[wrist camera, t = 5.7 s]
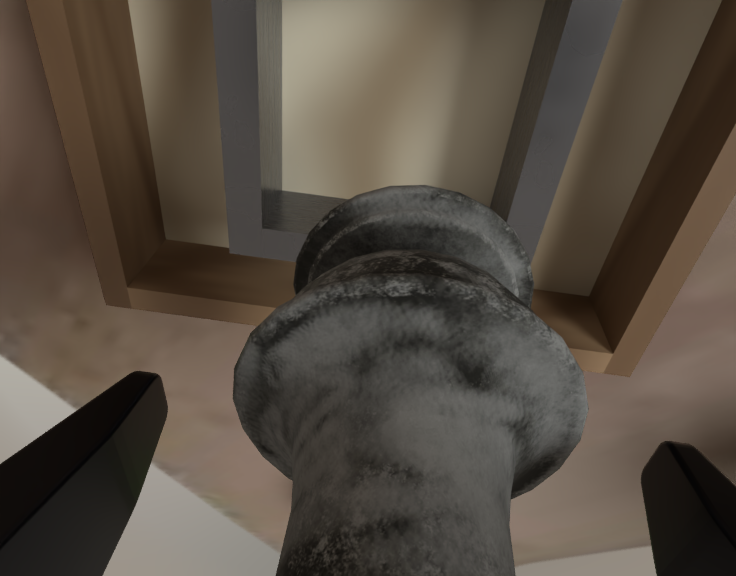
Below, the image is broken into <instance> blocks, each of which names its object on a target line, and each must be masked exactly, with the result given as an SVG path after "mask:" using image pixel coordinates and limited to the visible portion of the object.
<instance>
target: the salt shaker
mask: <svg viewBox="0 0 736 576" xmlns="http://www.w3.org/2000/svg"><path fill="white" fill-rule="evenodd" d="M293 286H294V291H295V297H294V298H293V299H291V300H289V301H287V302H285V303H283V304H282V305H280V306H278V307H277V308H276V309H275V310H274V311H273V312H272V313H271V314H270V315H269V316H268V317H267V318H266V319H265V320H264V321H263V322H262V323H261V324H260V325H259V326H258V327H257V328H255V329H254V330H253V331H252V332H251V333H250V335H249V338H248V340H247V342H246V344H245V346H244V348H243V350H242V352H241V355H240V357H239V359H238V361H237V363H236V365H235V368H234V386H233V401H234V404H235V407H236V410H237V413H238V416H239V419H240V422H241V425H242V428H243V429H244V431H245V432H246V434H247V435H248V437H249V438H250V439H251V441H252V442H253V444H254V445H255V446H256V448H257V449H258V451H259V452H260V453H261V455H262V456H263V457H264V458H265V459H266V460H268V461H269V462H270V463H271V464H272V465H273V466H275V467H276V468H277V469H278V470H279V471H280V472H282V473H283V474H284V475H285V476H286V477H288V478H289V479H291V480H293V489H292V505H291V513H290V517H289V521H288V526H287V530H286V534H285V538H284V543H283V547H282V551H281V555H280V560H279V564H278V568H277V573H276V576H515V568H514V560H513V552H512V544H511V536H510V528H509V521H510V502H511V499H513V498H515V497H517V496H520V495H522V494H524V493H526V492H528V491H530V490H532V489H534V488H535V487H536V486H538V485H539V484H540V483H542V482H543V481H544V480H545V479H547V478H548V477H549V476H551V475H552V474H553V473H555V472H556V471H557V470H558V469H559V468H560V467H561V466H562V465H563V463H564V462H565V460H566V459H567V458H568V456H569V455H570V454H571V452H572V451H573V449H574V448H575V447H576V445H577V444H578V442H579V441H580V439H581V435H582V432H583V428H584V424H585V420H586V417H587V413H588V402H587V395H586V389H585V382H584V375H583V372H582V370H581V368H580V367H579V365H578V363H577V362H576V360H575V358H574V356H573V355H572V353H571V351H570V350H569V348H568V346H567V345H566V343H565V341H564V340H563V338H562V337H561V336H560V335H559V334H558V333H556V332H555V331H554V330H553V329H552V328H551V327H550V326H548V325H547V324H546V323H545V322H544V321H543V320H541V319H540V318H539V317H538V316H537V315H536V314H535V313H534V312H533V310H531V303H532V296H533V290H534V280H533V275H532V270H531V265H530V260H529V256H528V253H527V252H526V250H525V248H524V246H523V245H522V243H521V241H520V239H519V238H518V236H517V234H516V232H515V231H514V229H513V228H512V227H511V226H509V225H508V224H507V223H506V222H505V221H504V220H503V219H502V218H501V217H500V216H499V215H498V214H496V213H495V212H494V211H493V210H492V209H491V208H489V207H488V206H486V205H484V204H482V203H480V202H478V201H476V200H474V199H472V198H470V197H468V196H466V195H464V194H462V193H460V192H455V191H451V190H446V189H442V188H437V187H433V186H428V185H400V186H387V187H384V188H380V189H376V190H373V191H369V192H365V193H362V194H358V195H356V196H354V197H352V198H351V199H349V200H347V201H346V202H344V203H342V204H340V205H339V206H337V207H335V208H334V209H332V210H330V211H329V212H328V213H327V214H326V215H325V216H324V217H323V218H322V219H321V220H320V221H319V222H318V223H317V224H316V226H315V227H314V228H313V229H312V230H311V231H310V232H309V234H308V236H307V238H306V240H305V242H304V244H303V246H302V248H301V250H300V252H299V254H298V256H297V259H296V267H295V274H294V282H293Z"/></svg>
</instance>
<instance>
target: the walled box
mask: <svg viewBox="0 0 736 576" xmlns="http://www.w3.org/2000/svg"><path fill="white" fill-rule="evenodd" d="M545 1H546V0H282V190H284V191H291V192H299V193H306V194H314V195H321V196H329V197H336V198H344V199H351V198H352V197H354V196H356V195H358V194H362V193H365V192H369V191H373V190H376V189H380V188H384V187H387V186H400V185H428V186H433V187H437V188H442V189H446V190H451V191H455V192H460V193H462V194H464V195H466V196H468V197H470V198H472V199H474V200H476V201H478V202H480V203H482V204H484V205H486V206H488V207H489V208H490V205H491V201H492V198H493V194H494V190H495V186H496V183H497V179H498V175H499V172H500V168H501V164H502V160H503V157H504V153H505V149H506V146H507V142H508V138H509V134H510V131H511V127H512V123H513V120H514V116H515V112H516V108H517V105H518V101H519V97H520V94H521V90H522V86H523V82H524V79H525V75H526V71H527V68H528V64H529V60H530V56H531V53H532V49H533V45H534V42H535V38H536V34H537V30H538V27H539V23H540V19H541V16H542V12H543V8H544V4H545ZM26 3H27V7H28V11H29V14H30V18H31V22H32V26H33V30H34V33H35V37H36V41H37V45H38V49H39V52H40V56H41V60H42V64H43V68H44V71H45V75H46V79H47V83H48V87H49V90H50V94H51V98H52V102H53V106H54V109H55V113H56V117H57V121H58V125H59V128H60V132H61V136H62V140H63V144H64V147H65V151H66V155H67V159H68V163H69V166H70V170H71V174H72V178H73V182H74V185H75V189H76V193H77V197H78V201H79V204H80V208H81V212H82V216H83V220H84V223H85V227H86V231H87V235H88V239H89V242H90V246H91V250H92V254H93V258H94V261H95V265H96V269H97V273H98V277H99V280H100V284H101V288H102V292H103V296H104V299H105V303H106V305H110V306H117V307H124V308H131V309H139V310H146V311H153V312H161V313H168V314H175V315H182V316H190V317H197V318H204V319H211V320H219V321H226V322H233V323H241V324H248V325H255V326H259V325H260V324H261V323H262V322H263V321H264V320H265V319H266V318H267V317H268V316H269V315H270V314H271V313H272V312H273V311H274V310H275V309H276V308H277V307H278V306H280V305H282V304H283V303H285V302H287V301H289V300H291V299H293V298H294V297H295V291H294V286H293V282H294V274H295V267H296V262H290V261H283V260H276V259H268V258H261V257H253V256H246V255H239V254H231V253H230V251H229V238H228V224H227V210H226V197H225V183H224V170H223V156H222V142H221V129H220V115H219V102H218V88H217V74H216V61H215V47H214V33H213V20H212V6H211V0H26ZM735 194H736V0H623V1H622V4H621V7H620V10H619V13H618V15H617V18H616V21H615V24H614V27H613V30H612V33H611V36H610V38H609V41H608V44H607V47H606V50H605V53H604V56H603V59H602V61H601V64H600V67H599V70H598V73H597V76H596V79H595V82H594V84H593V87H592V90H591V93H590V96H589V99H588V102H587V104H586V107H585V110H584V113H583V116H582V119H581V122H580V125H579V127H578V130H577V133H576V136H575V139H574V142H573V145H572V148H571V150H570V153H569V156H568V159H567V162H566V165H565V168H564V171H563V173H562V176H561V179H560V182H559V185H558V188H557V191H556V194H555V196H554V199H553V202H552V205H551V208H550V211H549V214H548V216H547V219H546V222H545V225H544V228H543V231H542V234H541V237H540V239H539V242H538V245H537V248H536V251H535V254H534V257H533V260H532V262H531V270H532V275H533V280H534V290H533V296H532V303H531V310H533V312H534V313H535V314H536V315H537V316H538V317H539V318H540V319H541V320H543V321H544V322H545V323H546V324H547V325H548V326H550V327H551V328H552V329H553V330H554V331H555V332H556V333H558V334H559V335H560V336H561V337H562V338H563V340H564V341H565V343H566V345H567V346H568V348H569V350H570V351H571V353H572V355H573V356H574V358H575V360H576V362H577V363H578V365H579V367H580V368H581V370H582V371H590V372H597V373H604V374H612V375H619V376H626V377H630V376H631V374H632V372H633V370H634V369H635V367H636V365H637V363H638V362H639V360H640V358H641V356H642V355H643V353H644V351H645V350H646V348H647V346H648V344H649V343H650V341H651V339H652V337H653V336H654V334H655V332H656V331H657V329H658V327H659V325H660V324H661V322H662V320H663V318H664V317H665V315H666V313H667V312H668V310H669V308H670V306H671V305H672V303H673V301H674V299H675V298H676V296H677V294H678V293H679V291H680V289H681V287H682V286H683V284H684V282H685V280H686V279H687V277H688V275H689V274H690V272H691V270H692V268H693V267H694V265H695V263H696V261H697V260H698V258H699V256H700V255H701V253H702V251H703V249H704V248H705V246H706V244H707V242H708V241H709V239H710V237H711V235H712V234H713V232H714V230H715V229H716V227H717V225H718V223H719V222H720V220H721V218H722V216H723V215H724V213H725V211H726V210H727V208H728V206H729V204H730V203H731V201H732V199H733V197H734V196H735Z"/></svg>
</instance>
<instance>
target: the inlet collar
mask: <svg viewBox="0 0 736 576" xmlns="http://www.w3.org/2000/svg"><path fill="white" fill-rule="evenodd" d="M622 1H623V0H546V1H545V4H544V8H543V12H542V16H541V19H540V23H539V27H538V30H537V34H536V38H535V42H534V45H533V49H532V53H531V56H530V60H529V64H528V68H527V71H526V75H525V79H524V82H523V86H522V90H521V94H520V97H519V101H518V105H517V108H516V112H515V116H514V120H513V123H512V127H511V131H510V134H509V138H508V142H507V146H506V149H505V153H504V157H503V160H502V164H501V168H500V172H499V175H498V179H497V183H496V186H495V190H494V194H493V198H492V201H491V205H490V208H491V209H492V210H493V211H494V212H495V213H496V214H498V215H499V216H500V217H501V218H502V219H503V220H504V221H505V222H506V223H507V224H508V225H509V226H511V227H512V228H513V229H514V231H515V232H516V234H517V236H518V238H519V239H520V241H521V243H522V245H523V246H524V248H525V250H526V252H527V253H528V256H529V260H530V265H531V262H532V260H533V257H534V254H535V251H536V248H537V245H538V242H539V239H540V237H541V234H542V231H543V228H544V225H545V222H546V219H547V216H548V214H549V211H550V208H551V205H552V202H553V199H554V196H555V194H556V191H557V188H558V185H559V182H560V179H561V176H562V173H563V171H564V168H565V165H566V162H567V159H568V156H569V153H570V150H571V148H572V145H573V142H574V139H575V136H576V133H577V130H578V127H579V125H580V122H581V119H582V116H583V113H584V110H585V107H586V104H587V102H588V99H589V96H590V93H591V90H592V87H593V84H594V82H595V79H596V76H597V73H598V70H599V67H600V64H601V61H602V59H603V56H604V53H605V50H606V47H607V44H608V41H609V38H610V36H611V33H612V30H613V27H614V24H615V21H616V18H617V15H618V13H619V10H620V7H621V4H622ZM211 6H212V20H213V33H214V47H215V61H216V74H217V88H218V102H219V115H220V129H221V142H222V156H223V170H224V183H225V197H226V210H227V224H228V238H229V251H230V253H231V254H239V255H246V256H253V257H261V258H268V259H276V260H283V261H290V262H296V259H297V256H298V254H299V252H300V250H301V248H302V246H303V244H304V242H305V240H306V238H307V236H308V234H309V232H310V231H311V230H312V229H313V228H314V227H315V226H316V224H317V223H318V222H319V221H320V220H321V219H322V218H323V217H324V216H325V215H326V214H327V213H328V212H329V211H330V210H332V209H334V208H335V207H337V206H339V205H340V204H342V203H344V202H346V201H347V200H349V199H344V198H336V197H329V196H321V195H314V194H306V193H299V192H291V191H284V190H282V0H211Z"/></svg>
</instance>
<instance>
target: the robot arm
mask: <svg viewBox="0 0 736 576" xmlns="http://www.w3.org/2000/svg"><path fill="white" fill-rule="evenodd" d="M167 412H168V405H167V400H166V396H165V392H164V387H163V383H162V379H161V377H160V376H159V375H158V374H156V373H150V372H142V371H135V372H132V373H130V374H129V375H127V376H126V377H124V378H123V379H121V380H120V381H119V382H117V383H116V384H114V385H113V386H111V387H110V388H109V389H107V390H106V391H104V392H103V393H101V394H100V395H98V396H97V397H96V398H94V399H93V400H91V401H90V402H88V403H87V404H86V405H84V406H83V407H81V408H80V409H78V410H77V411H76V412H74V413H73V414H71V415H70V416H68V417H67V418H66V419H64V420H63V421H61V422H60V423H58V424H57V425H55V426H54V427H53V428H51V429H50V430H48V431H47V432H45V433H44V434H43V435H42V436H40V437H39V438H37V439H36V440H34V441H33V442H31V443H30V444H28V445H27V446H25V447H24V448H23V449H21V450H20V451H18V452H17V453H15V454H14V455H13V456H11V457H10V458H8V459H7V460H5V461H4V462H2V463H1V464H0V576H102V575H103V573H104V571H105V569H106V567H107V565H108V563H109V560H110V559H111V556H112V554H113V552H114V550H115V548H116V546H117V544H118V542H119V540H120V538H121V535H122V533H123V531H124V529H125V527H126V525H127V523H128V521H129V518H130V516H131V514H132V512H133V510H134V507H135V505H136V503H137V500H138V497H139V495H140V492H141V489H142V487H143V484H144V481H145V478H146V475H147V472H148V469H149V467H150V464H151V461H152V458H153V455H154V452H155V449H156V447H157V444H158V441H159V438H160V435H161V432H162V429H163V427H164V424H165V421H166V418H167ZM641 485H642V491H643V497H644V503H645V509H646V516H647V522H648V528H649V534H650V540H651V546H652V552H653V558H654V563H655V569H656V574H657V576H736V486H735V485H734V484H733V483H732V482H731V481H730V480H729V479H728V478H726V477H725V476H724V475H723V474H722V473H721V472H720V471H719V470H718V469H717V468H716V467H715V466H714V465H713V464H712V463H711V462H710V461H709V460H708V459H707V458H706V457H705V456H704V455H703V454H702V453H700V452H699V451H698V450H697V449H696V448H695V447H694V446H692V445H690V444H686V443H680V442H672V441H665V442H663V443H661V444H660V445H659V446H658V448H657V449H656V451H655V452H654V454H653V455H652V457H651V458H650V460H649V461H648V463H647V464H646V465H645V467H644V469H643V471H642V475H641Z"/></svg>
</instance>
